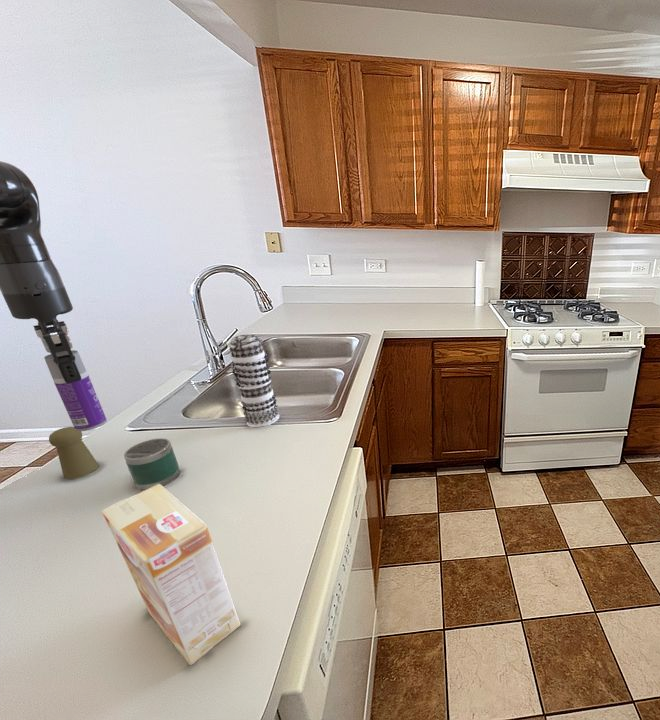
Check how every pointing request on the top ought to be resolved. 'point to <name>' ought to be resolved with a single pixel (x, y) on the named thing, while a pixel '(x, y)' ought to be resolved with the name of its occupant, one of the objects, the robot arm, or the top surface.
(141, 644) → the top surface
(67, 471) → the cork
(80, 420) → the container
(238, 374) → the decorative candle
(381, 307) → the top surface
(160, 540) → the coffeecake box
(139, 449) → the tin can
